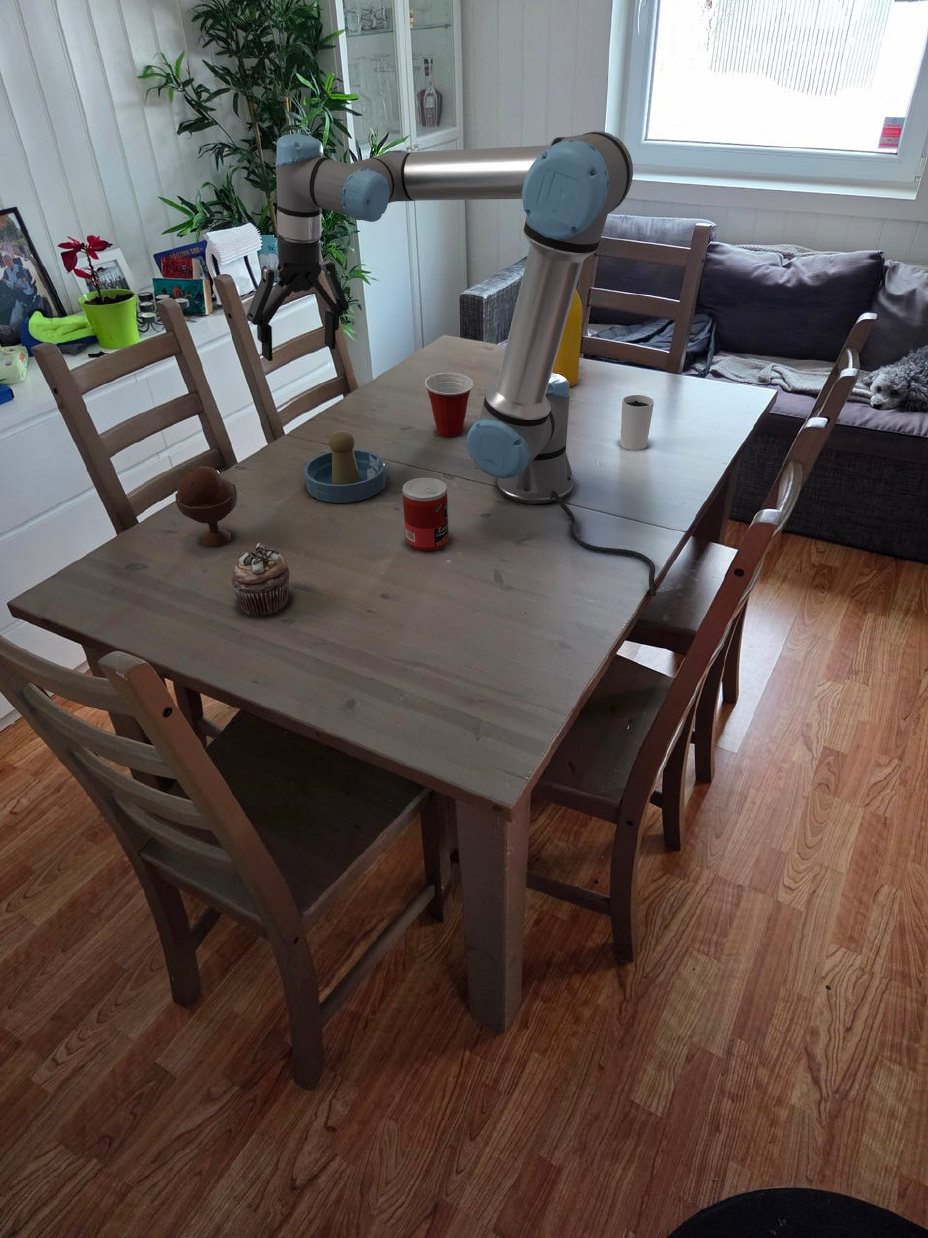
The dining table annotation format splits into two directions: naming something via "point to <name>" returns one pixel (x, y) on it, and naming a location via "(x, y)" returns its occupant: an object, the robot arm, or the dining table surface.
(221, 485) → the ice cream bowl
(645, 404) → the white coffee cup
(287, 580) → the cupcake
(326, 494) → the bowl
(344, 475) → the olive game pawn
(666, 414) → the dining table surface
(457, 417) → the plastic cup
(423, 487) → the canned food
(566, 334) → the beer bottle
